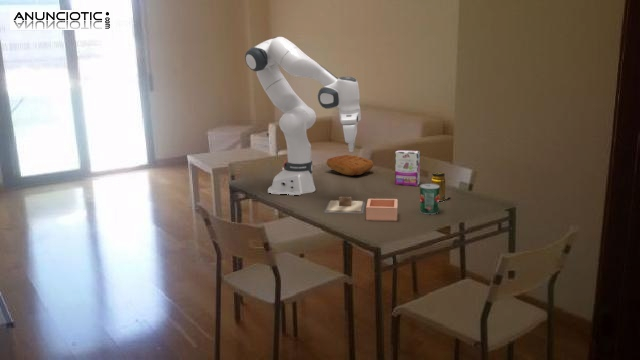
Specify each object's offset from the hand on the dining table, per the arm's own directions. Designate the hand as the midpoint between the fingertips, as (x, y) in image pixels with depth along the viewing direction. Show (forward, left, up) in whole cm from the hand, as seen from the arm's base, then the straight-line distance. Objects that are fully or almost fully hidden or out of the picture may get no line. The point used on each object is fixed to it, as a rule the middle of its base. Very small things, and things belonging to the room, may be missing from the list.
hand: (352, 149), depth 252 cm
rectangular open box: (+13, -15, -25) cm, 32 cm away
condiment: (+37, +13, -25) cm, 47 cm away
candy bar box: (+23, +37, -25) cm, 50 cm away
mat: (-3, -4, -25) cm, 25 cm away
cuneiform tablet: (-6, +59, -25) cm, 64 cm away
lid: (-3, -4, -24) cm, 25 cm away
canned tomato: (+32, -6, -25) cm, 41 cm away
